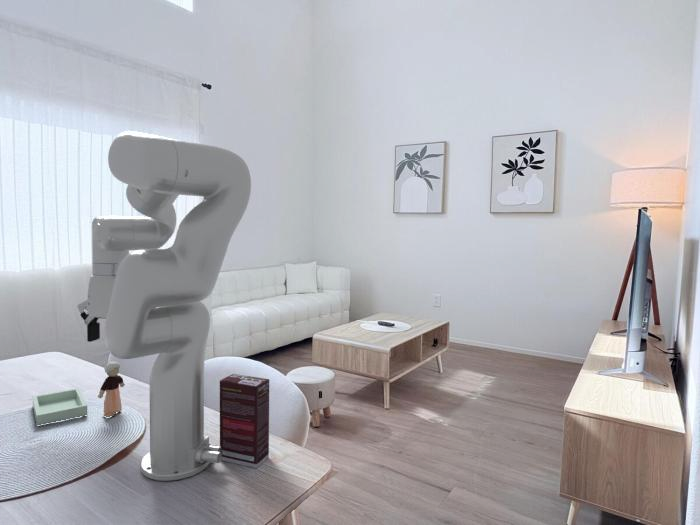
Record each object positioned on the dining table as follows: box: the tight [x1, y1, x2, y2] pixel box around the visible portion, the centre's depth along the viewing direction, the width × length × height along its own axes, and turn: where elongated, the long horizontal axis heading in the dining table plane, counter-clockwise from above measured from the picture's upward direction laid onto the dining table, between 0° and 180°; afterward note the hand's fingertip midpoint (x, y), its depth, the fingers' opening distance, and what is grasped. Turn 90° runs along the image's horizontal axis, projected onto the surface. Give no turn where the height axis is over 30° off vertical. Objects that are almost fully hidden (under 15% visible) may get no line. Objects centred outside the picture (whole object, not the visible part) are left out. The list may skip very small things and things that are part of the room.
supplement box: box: [219, 373, 270, 469], centre depth 85 cm, size 9×5×16 cm, turn 70°
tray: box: [32, 387, 88, 426], centre depth 104 cm, size 14×10×3 cm
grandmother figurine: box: [97, 361, 125, 417], centre depth 103 cm, size 8×4×13 cm, turn 179°
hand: (111, 342), depth 103 cm, fingers open, 9 cm apart
